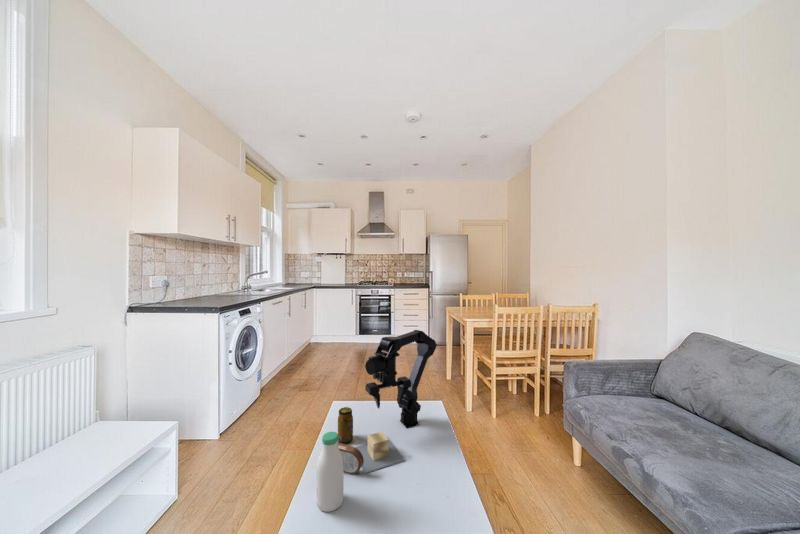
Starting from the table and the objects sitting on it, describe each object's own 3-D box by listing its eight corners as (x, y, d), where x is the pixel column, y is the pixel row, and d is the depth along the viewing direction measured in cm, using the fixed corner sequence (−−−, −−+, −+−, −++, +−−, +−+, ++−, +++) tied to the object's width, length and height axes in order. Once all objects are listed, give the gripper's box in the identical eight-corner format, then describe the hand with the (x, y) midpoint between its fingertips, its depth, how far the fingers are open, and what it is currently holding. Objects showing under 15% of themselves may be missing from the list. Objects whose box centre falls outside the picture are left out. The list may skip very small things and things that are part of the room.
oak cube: (382, 446, 114) (382, 431, 114) (388, 455, 109) (388, 439, 109) (367, 451, 111) (367, 435, 111) (373, 460, 106) (373, 444, 106)
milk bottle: (348, 501, 88) (348, 435, 88) (326, 517, 83) (326, 446, 83) (333, 488, 94) (333, 425, 93) (311, 502, 88) (311, 435, 88)
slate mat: (387, 438, 120) (387, 437, 120) (405, 460, 107) (405, 459, 107) (352, 448, 114) (352, 447, 114) (365, 473, 100) (365, 472, 100)
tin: (364, 471, 101) (364, 447, 101) (359, 478, 98) (359, 453, 98) (326, 462, 106) (326, 438, 106) (320, 467, 103) (320, 443, 103)
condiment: (348, 432, 125) (348, 404, 125) (359, 441, 118) (359, 412, 118) (332, 439, 120) (332, 409, 120) (343, 449, 114) (343, 418, 113)
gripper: (400, 359, 134) (400, 393, 134) (360, 365, 126) (360, 402, 126) (412, 367, 124) (412, 404, 124) (370, 374, 116) (370, 414, 116)
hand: (388, 405), depth 123 cm, fingers open, 9 cm apart
